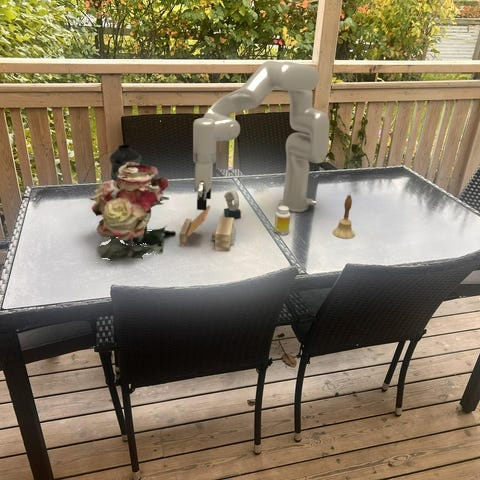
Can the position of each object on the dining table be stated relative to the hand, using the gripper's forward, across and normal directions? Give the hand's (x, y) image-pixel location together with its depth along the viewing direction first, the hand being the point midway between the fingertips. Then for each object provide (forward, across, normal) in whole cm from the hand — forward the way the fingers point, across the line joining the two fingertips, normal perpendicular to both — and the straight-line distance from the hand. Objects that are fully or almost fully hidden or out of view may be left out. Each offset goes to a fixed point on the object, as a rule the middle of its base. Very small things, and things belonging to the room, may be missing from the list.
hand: (204, 204), depth 159 cm
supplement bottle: (+14, -11, +28) cm, 34 cm away
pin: (+14, 0, +7) cm, 16 cm away
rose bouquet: (+15, +8, -24) cm, 29 cm away
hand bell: (+14, -14, +52) cm, 56 cm away
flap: (+7, 0, -2) cm, 7 cm away
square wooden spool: (+14, 0, +1) cm, 14 cm away
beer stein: (+15, -24, -35) cm, 45 cm away
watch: (+14, -21, +8) cm, 27 cm away
